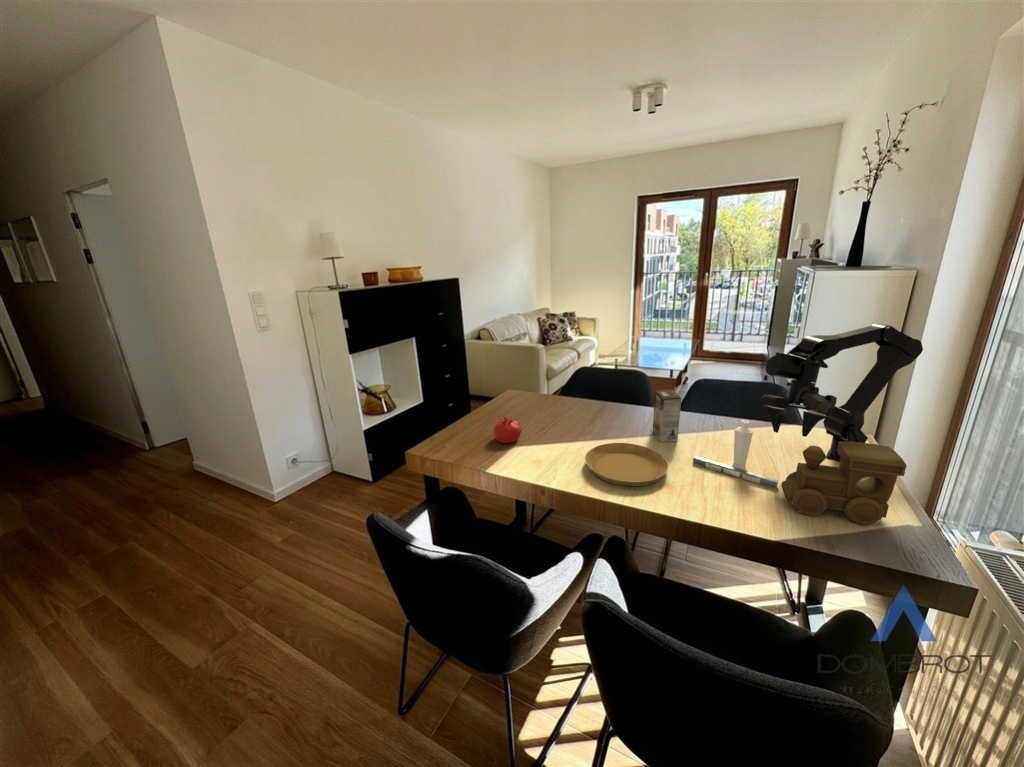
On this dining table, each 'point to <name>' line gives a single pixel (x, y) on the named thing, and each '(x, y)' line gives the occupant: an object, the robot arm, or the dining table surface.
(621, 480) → the plant saucer
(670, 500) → the dining table surface
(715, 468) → the rail
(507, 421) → the pomegranate
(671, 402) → the coffee box
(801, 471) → the wooden toy train
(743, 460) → the cream angular vase
